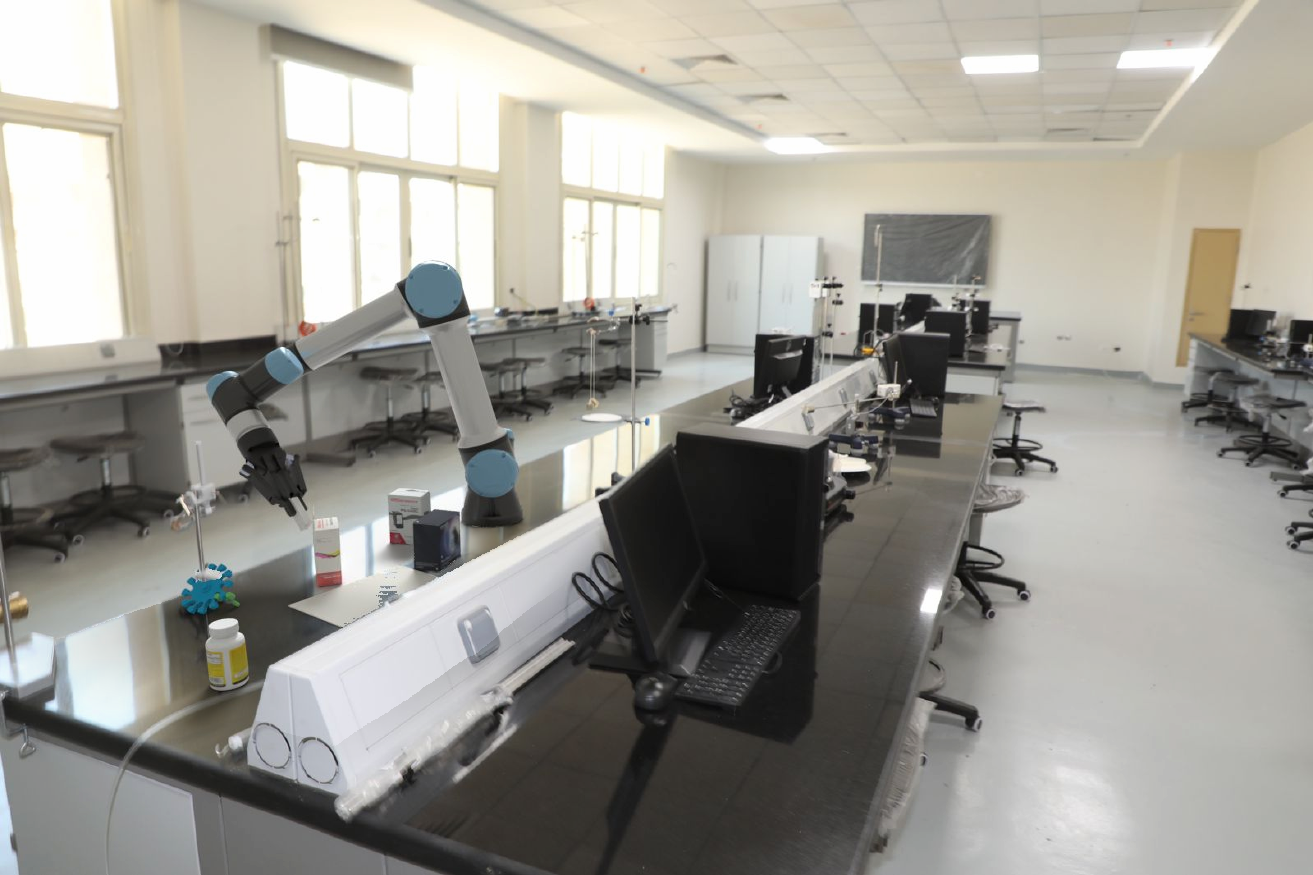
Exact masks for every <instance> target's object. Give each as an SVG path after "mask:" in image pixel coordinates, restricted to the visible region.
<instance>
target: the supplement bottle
mask: <svg viewBox="0 0 1313 875" xmlns="http://www.w3.org/2000/svg"><path fill="white" fill-rule="evenodd" d="M239 628H240V626H239V621H238V620H237V619H236V618H228V617H227V618H221V619H217V620H215V621H213V622H211V623H210V624H208V634H209V636H210V637H209V638H208V639H207V640H206V642H205V655H206V664H207V671H208V681H209V685H210V688H211V689H212V690H215V691H218V692H219V691H225V692H226V691H230V690H234V689H237V688H241V687H242V686H243V685H245V684H246V683H247V682H248V681H249V679H250V676H249V675H250V674H249V663H248V654H247V646H246V639H245V638H246V637H245V636H244V634H243V633H242V632H239Z"/></svg>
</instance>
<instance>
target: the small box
mask: <svg viewBox="0 0 1313 875" xmlns="http://www.w3.org/2000/svg"><path fill="white" fill-rule="evenodd" d="M461 540H462V538H461V511H457V510H456V511H455V510H446V509H439V508H435V509H433V510H432V509H431V512H429V513H428V514H426V515H424V516H423V517H421V518H419V519H418V520H416V521H414V522H413V545H412V546H413V569H414V570H417V571H425V572H426V571H427V572H434V573H435V572H437V573H441V572H443V571H444V570H445V569H446V568H447V567H449V566H450V565H451V564H452V563H454V562H455V561H456V560H458V559H459V558H460V557H462V547H461V546H462V544H461ZM457 558H458V559H457ZM454 560H455V561H454ZM453 561H454V562H453ZM450 563H451V564H450ZM448 565H449V566H448Z"/></svg>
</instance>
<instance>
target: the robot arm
mask: <svg viewBox="0 0 1313 875" xmlns="http://www.w3.org/2000/svg"><path fill="white" fill-rule="evenodd" d="M471 316H472V314H471V311H470V307H469V304H468V300H467V298H466V294H465V291H464V288H463V281H462V278H461V276H460V275H459V272H458V271H457V270H456V269H455V268H454V267H453V266H452V265H451V264H448V263H447V262H444V261H440V260H435V259H434V260H433V259H432V260H427V261H424V262H421V263H418V264H417V265H416V266H414V267H413V268H412V269H411V270H410V271H409V273H408V275H407V276H406V277H405V278H404V279H401V280H399V281H398V282H396V283H395V284H394V287H393V289H392V290H391V291H389V292H386V293H385V294H383V295H381V296H379V297H377V298H376V299H374V300H371V301H370V302H368V303H365V304H364V305H362V306H359V307H358V308H357V309H354V310H352V311H350V312H349V313H347V314H345V315H343V316H340V317H339V318H338V319H336V320H334V321H332V322H329V324H326V325H324V326H321V328H319V329H317V330H315V331H312V332H311V333H309V334H306V335H305V336H304V337H302V338H300V339H298V340H296V341H295V342H293V343H290V344H288V345H286V346H285V347H284V346H280V347H278V348H275V350H272V351H270V352H268V353H267V354H266V355H265V356H263V357H262V358H260V359H259V360H258V361H257V362H255V363H254V364H252V365H251V366H250V367H248V368H247V369H246V370H244V371H243V372H241V373H237V372H236V371H231V370H229V371H228V370H227V371H222V372H221V373H220V374H219V373H218V374H215V375H213V376H212V377H210V379H209V380H208V381H207V383H206V386H205V391H206V394H207V396H208V398H209V400H210V403H211V405H212V408H214V409H215V412H217V414H218V416H219V418H220V419H221V421H222V422H223V424H224V426H225V428H226V429H227V431H228V433H229V434H230V436H231V438H232V440H233V441H234V443H235V444H236V447H237V449H238V451H239V452H240V455H241V456H242V458H243V459H244V460H245V463H244V464H242V466H241V469H240V470H239V471H238V474H239V475H240V476H241V477H242V478H245V479H246V480H248V481H249V482H250V484H252V486H254V488H255V489H256V490H257V491H258V492H259V493H260V494H261V495H262V496H263V498H265V500H266V501H267V502H268V503H269V505H271V506H275V505H278V508H280V509H281V508H283V510H285V512H286V515H287V516H288V517H290V518H293V520H294V522H295V523H296V525H297V527H298V529H299V530H300V532H302V531H307V530H309V528H310V527H311V525H312V524H313V520H312V519H311V518H310V515H309V514H308V512H307V511H308V506H307V505H306V503H305V501H304V496H305V495H306V493H307V492H308V488H307V484H306V482H305V477H304V474H303V472H302V468H301V465H300V460H301V456H300V455H299V453H298V454H297V453H295V454H293V455H290V454H289V453H287V452H286V451H285V450H284V449H283V448H282V447H281V445H280V441H279V439H278V437H277V436H276V435H275V433H274V431H273V430H272V428H271V426H270V423H269V422H268V420H267V419H266V417H265V415H264V414H263V413H262V411H261V409H260V407H259V405H261V404H263V403H264V402H266V401H267V400H268V399H270V398H272V397H273V396H275V394H278V393H280V391H282V390H283V389H285V388H286V387H288V386H289V385H291V384H293V383H294V382H296V381H297V380H298V379H300V378H302V377H304V376H306V375H307V374H310V373H312V372H313V371H315V370H316V369H319V368H321V367H322V366H324V365H327V364H328V363H330V362H332V361H334V360H336V359H338V358H340V357H342V356H344V355H345V354H347V353H349V352H351V351H353V350H354V349H357V348H358V347H360V346H362V345H364V344H366V343H368V342H370V341H371V340H373V339H375V338H377V337H379V336H381V335H383V334H385V333H386V332H389V331H391V330H393V329H394V328H396V327H398V326H400V325H402V324H404V323H406V322H408V321H409V320H414V321H416V323H417V326H418V329H419V331H422V332H423V333H425V334H427V335H428V336H429V340H430V343H431V347H432V350H433V352H434V357H435V358H436V362H437V365H438V369H439V372H440V375H441V377H442V378H441V379H442V380H443V384H444V387H445V391H446V393H447V396H448V399H449V402H450V406H451V409H452V412H453V414H454V419H455V421H456V424H457V427H458V431H459V433H460V438H459V440H458V443H457V444H456V445H457V450H458V452H459V456H460V459H461V461H462V465H463V468H464V477H465V481H466V483H467V485H466V487H467V489H466V494H465V498H464V502H463V507H462V508H461V511H460V522H462V524H464V525H467V526H469V527H474V528H500V527H506V526H510V525H513V524H517V523H519V522H521V521H522V520H523V518H524V514H523V507H522V504H520V499H519V496H518V492H517V489H516V482H517V480H518V477H519V471H520V470H519V465H518V462H517V460H516V456H515V444H514V443H515V440H516V439H515V437H514V431H513V430H512V429H510V428H505V427H502V426H499V424H498V421H497V419H496V415H495V411H494V409H493V405H492V402H491V397H490V395H489V392H488V389H487V386H486V383H485V379H484V376H483V373H482V370H481V367H480V363H479V359H478V357H477V354H476V350H475V347H474V344H473V340H472V337H471V335H470V331H469V328H468V322H469V320H470V318H471ZM286 464H287V466H288V467H289V471H288V469H287V468H288V467H287V466H286ZM522 517H523V518H522ZM521 519H522V520H521ZM516 522H517V523H516Z"/></svg>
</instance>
